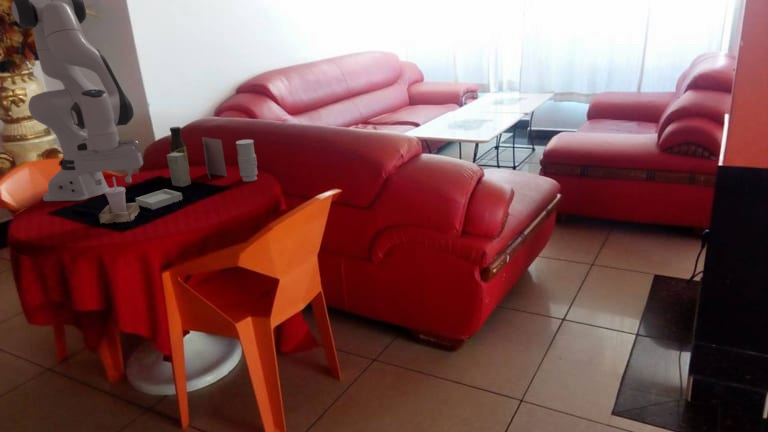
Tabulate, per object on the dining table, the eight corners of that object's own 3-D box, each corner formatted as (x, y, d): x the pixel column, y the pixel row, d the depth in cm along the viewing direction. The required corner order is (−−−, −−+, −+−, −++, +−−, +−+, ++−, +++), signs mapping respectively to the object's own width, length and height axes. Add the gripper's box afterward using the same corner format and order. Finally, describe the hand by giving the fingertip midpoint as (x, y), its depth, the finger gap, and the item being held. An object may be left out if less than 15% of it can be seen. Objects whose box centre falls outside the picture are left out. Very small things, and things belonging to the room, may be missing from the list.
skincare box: (191, 184, 231) (186, 153, 227) (182, 187, 228) (177, 156, 223) (180, 182, 234) (175, 151, 230) (171, 185, 231) (166, 154, 227)
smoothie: (123, 221, 195) (114, 180, 190) (106, 220, 197) (97, 179, 192) (134, 214, 201) (126, 174, 196) (117, 213, 202) (109, 174, 197)
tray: (152, 209, 205) (151, 202, 204) (136, 204, 210) (135, 198, 210) (182, 199, 214) (181, 193, 213) (166, 195, 219) (165, 188, 218)
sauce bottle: (181, 178, 239) (172, 129, 232) (170, 176, 242) (162, 128, 235) (193, 174, 244) (185, 126, 237) (183, 172, 247) (175, 125, 240)
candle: (256, 181, 231) (251, 143, 225) (238, 182, 231) (233, 144, 226) (260, 176, 237) (255, 139, 232) (242, 176, 237) (238, 139, 232)
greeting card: (205, 173, 245) (199, 137, 239) (223, 170, 247) (218, 135, 242) (208, 180, 235) (202, 143, 229) (227, 177, 237) (222, 140, 232)
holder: (100, 223, 194) (98, 215, 193) (109, 213, 203) (107, 205, 202) (132, 221, 195) (130, 212, 194) (139, 210, 204) (137, 202, 203)
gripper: (140, 137, 194) (149, 177, 198) (75, 142, 191) (84, 183, 196) (135, 141, 188) (144, 183, 192) (67, 146, 186) (78, 189, 190)
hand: (113, 183), depth 194 cm, fingers open, 8 cm apart
